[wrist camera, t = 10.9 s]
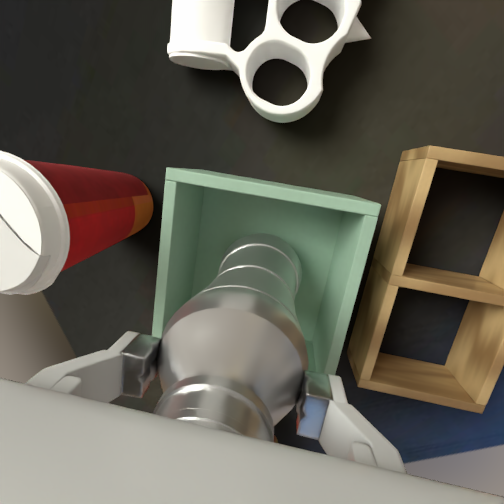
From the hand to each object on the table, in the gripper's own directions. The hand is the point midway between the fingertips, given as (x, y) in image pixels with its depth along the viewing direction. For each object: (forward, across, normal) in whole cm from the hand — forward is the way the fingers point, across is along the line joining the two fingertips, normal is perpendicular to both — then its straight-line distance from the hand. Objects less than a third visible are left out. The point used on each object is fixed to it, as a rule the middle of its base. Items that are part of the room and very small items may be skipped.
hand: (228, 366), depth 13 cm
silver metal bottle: (+15, 0, 0) cm, 15 cm away
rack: (+16, -14, -2) cm, 22 cm away
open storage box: (+16, 0, 0) cm, 16 cm away
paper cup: (+16, +14, -3) cm, 21 cm away
